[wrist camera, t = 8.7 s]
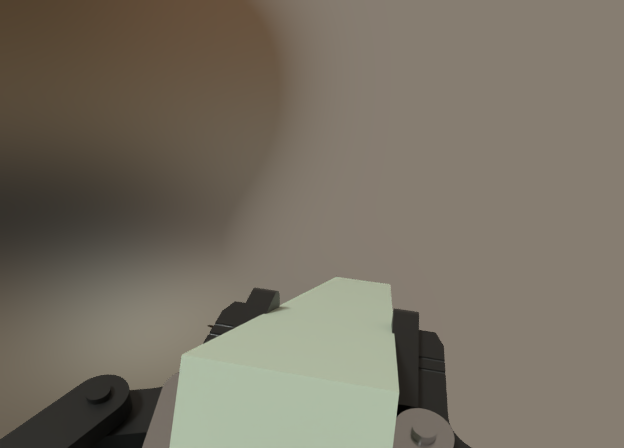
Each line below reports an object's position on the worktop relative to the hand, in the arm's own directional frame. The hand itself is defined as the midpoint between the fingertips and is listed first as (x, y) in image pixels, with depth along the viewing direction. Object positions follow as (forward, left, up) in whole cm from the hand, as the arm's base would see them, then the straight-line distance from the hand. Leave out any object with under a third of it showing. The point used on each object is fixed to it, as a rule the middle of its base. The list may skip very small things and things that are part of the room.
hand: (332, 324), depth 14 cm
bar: (-2, +5, -3) cm, 6 cm away
